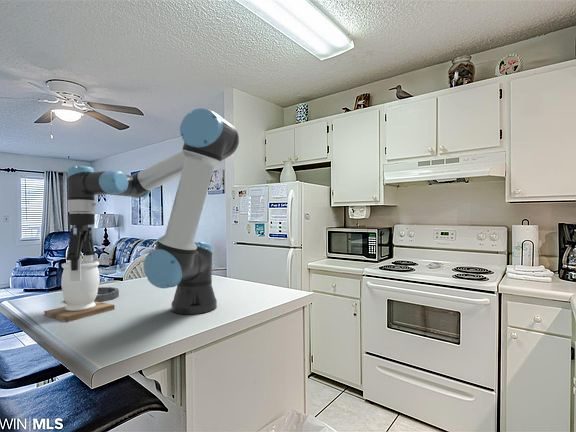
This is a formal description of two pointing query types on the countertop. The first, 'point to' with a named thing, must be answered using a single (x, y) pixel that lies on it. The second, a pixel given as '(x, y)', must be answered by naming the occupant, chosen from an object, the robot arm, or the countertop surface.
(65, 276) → the jar
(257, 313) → the countertop surface
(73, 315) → the board
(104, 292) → the collar
